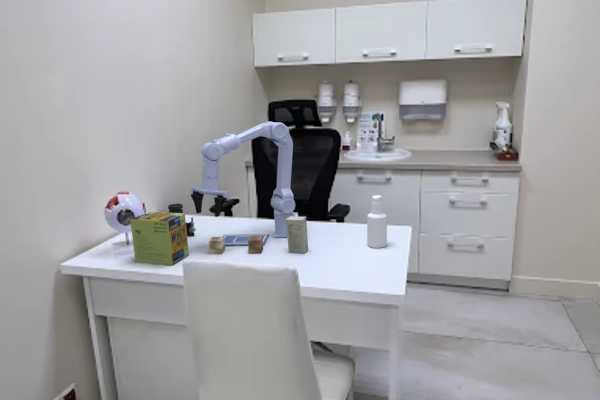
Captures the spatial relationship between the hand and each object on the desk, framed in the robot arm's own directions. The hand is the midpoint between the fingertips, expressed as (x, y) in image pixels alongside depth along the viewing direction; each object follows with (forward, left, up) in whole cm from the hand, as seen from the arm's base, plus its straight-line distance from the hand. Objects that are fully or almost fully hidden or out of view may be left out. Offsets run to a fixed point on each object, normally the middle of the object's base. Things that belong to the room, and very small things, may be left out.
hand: (207, 214), depth 166 cm
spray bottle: (-60, -3, -13) cm, 62 cm away
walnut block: (-17, +2, -13) cm, 22 cm away
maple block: (-3, +2, -13) cm, 14 cm away
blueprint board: (-10, -10, -13) cm, 19 cm away
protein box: (+15, +8, -14) cm, 22 cm away
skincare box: (-32, +2, -13) cm, 35 cm away
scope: (+16, -14, -13) cm, 25 cm away
